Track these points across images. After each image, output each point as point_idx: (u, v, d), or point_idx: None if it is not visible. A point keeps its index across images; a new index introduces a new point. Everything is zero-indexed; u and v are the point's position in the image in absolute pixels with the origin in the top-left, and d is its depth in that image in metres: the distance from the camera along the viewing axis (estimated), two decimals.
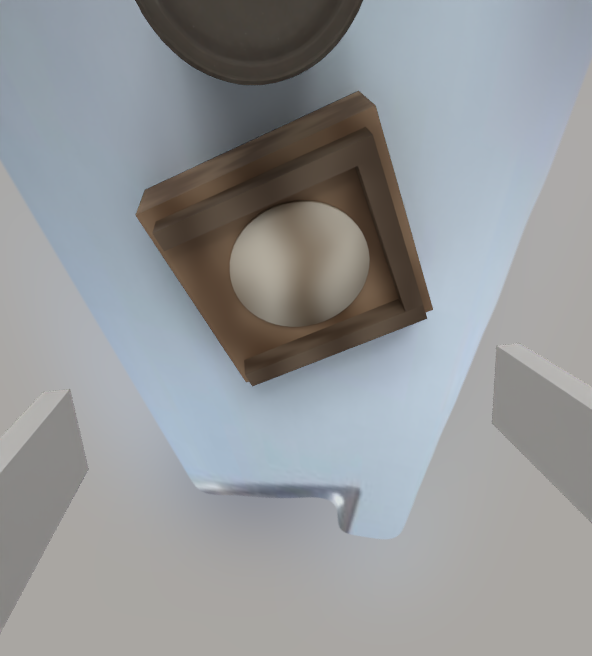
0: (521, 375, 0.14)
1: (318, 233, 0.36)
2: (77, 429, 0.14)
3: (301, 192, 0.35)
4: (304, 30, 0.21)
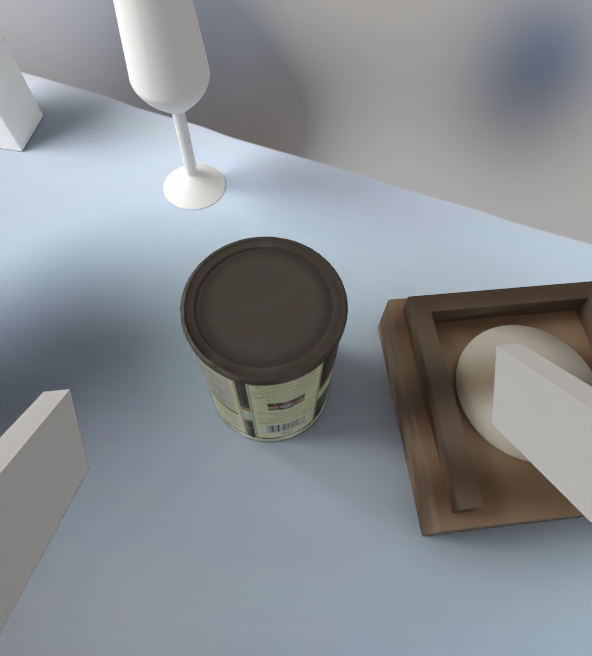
0: (521, 375, 0.14)
1: (490, 363, 0.38)
2: (77, 429, 0.14)
3: (447, 369, 0.38)
4: (320, 286, 0.31)
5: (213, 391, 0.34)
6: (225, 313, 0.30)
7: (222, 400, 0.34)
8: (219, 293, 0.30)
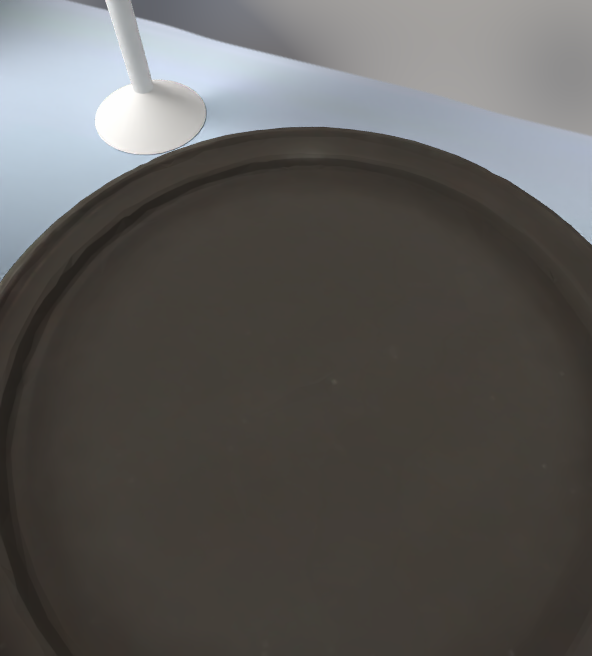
0: None
1: None
2: None
3: None
4: (542, 301, 0.08)
5: None
6: (142, 434, 0.06)
7: None
8: (125, 339, 0.07)
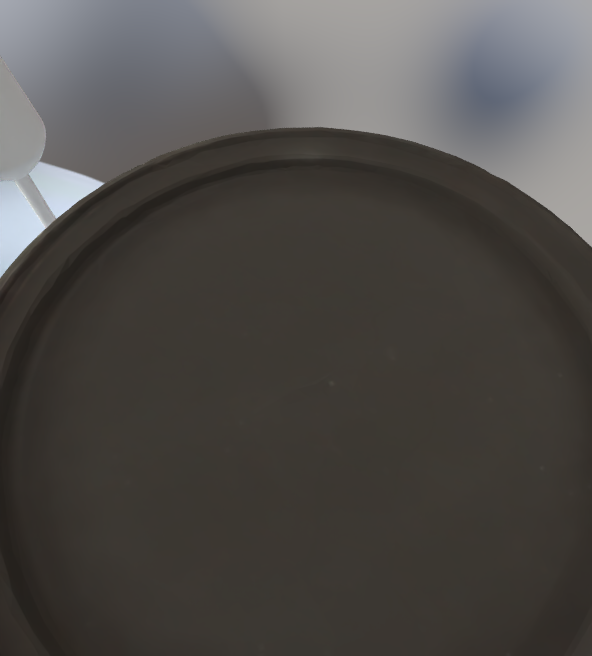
0: None
1: None
2: None
3: None
4: (541, 302, 0.07)
5: None
6: (138, 435, 0.06)
7: None
8: (122, 340, 0.07)
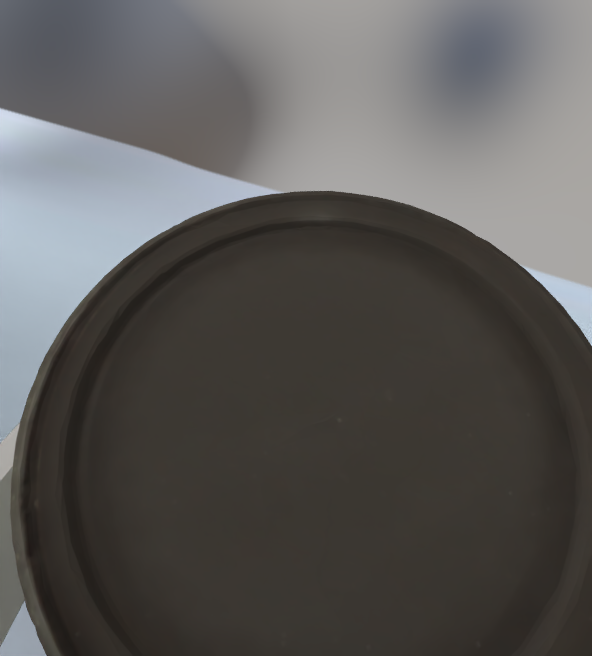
0: None
1: None
2: None
3: None
4: (514, 351, 0.09)
5: None
6: (181, 463, 0.08)
7: None
8: (165, 381, 0.09)
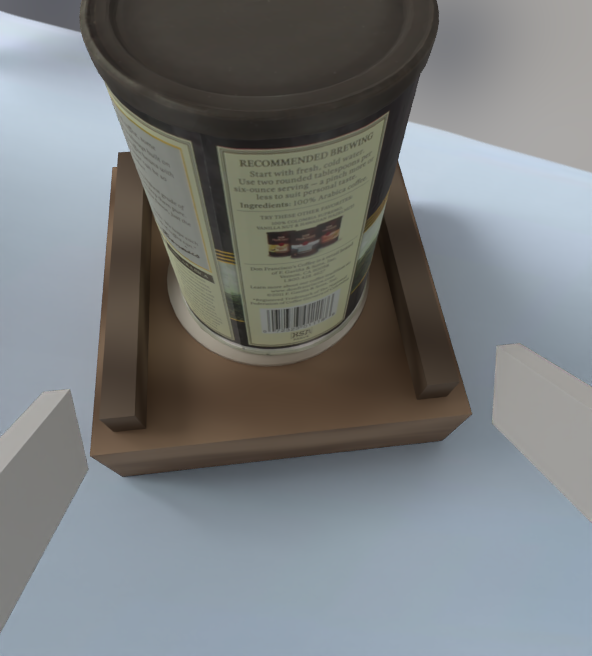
0: (521, 375, 0.14)
1: None
2: (77, 429, 0.14)
3: None
4: None
5: (168, 237, 0.19)
6: (176, 13, 0.14)
7: (184, 251, 0.18)
8: None
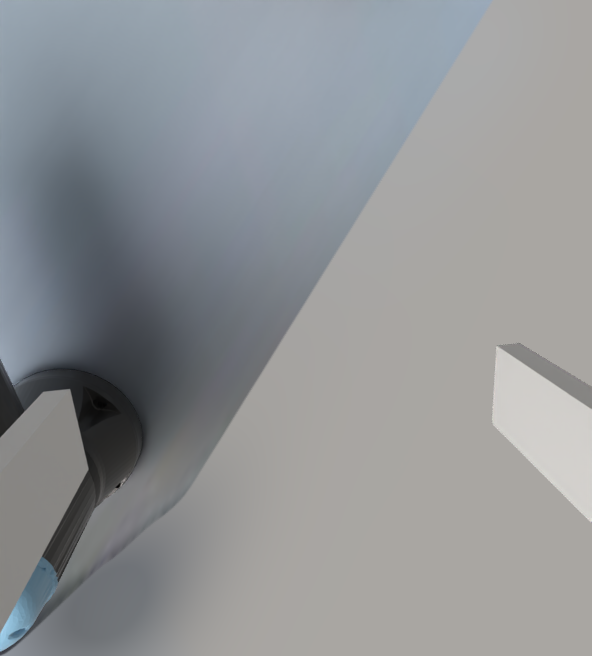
0: (521, 375, 0.14)
1: None
2: (77, 429, 0.14)
3: None
4: None
5: None
6: None
7: None
8: None
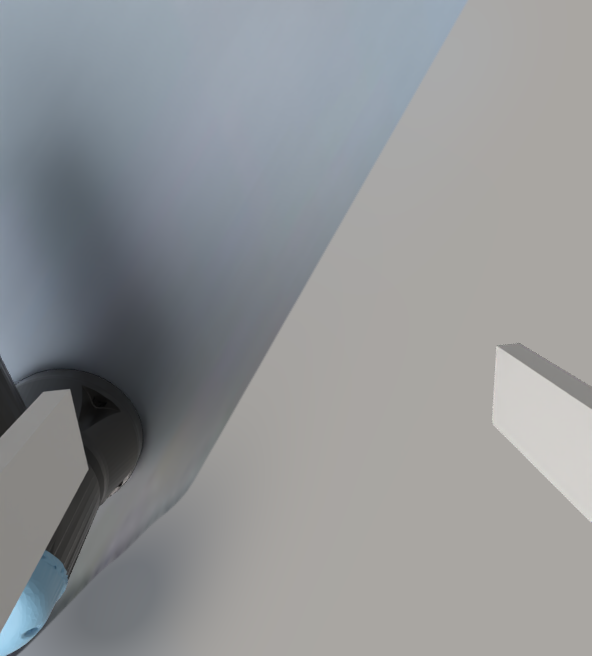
0: (521, 375, 0.14)
1: None
2: (77, 429, 0.14)
3: None
4: None
5: None
6: None
7: None
8: None
